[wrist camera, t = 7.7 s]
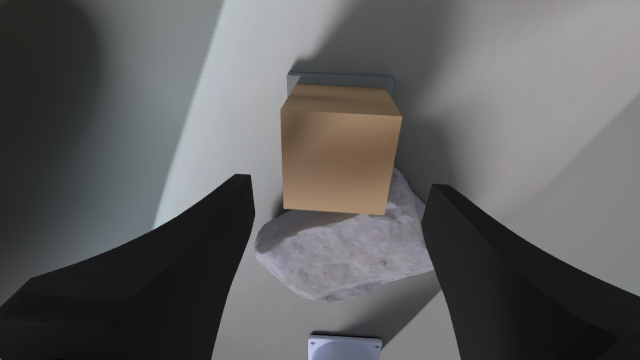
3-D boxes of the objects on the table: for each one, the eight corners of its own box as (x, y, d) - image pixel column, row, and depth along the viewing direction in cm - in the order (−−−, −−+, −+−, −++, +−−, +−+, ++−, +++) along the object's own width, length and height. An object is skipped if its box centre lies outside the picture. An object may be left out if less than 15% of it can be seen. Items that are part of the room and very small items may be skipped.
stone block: (439, 218, 24) (390, 146, 18) (462, 274, 21) (412, 211, 14) (321, 261, 29) (248, 218, 22) (324, 312, 25) (240, 279, 19)
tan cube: (374, 168, 19) (384, 215, 14) (296, 163, 19) (283, 208, 14) (385, 88, 16) (402, 116, 12) (296, 83, 16) (280, 109, 12)
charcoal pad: (378, 166, 20) (379, 172, 19) (291, 162, 20) (289, 168, 19) (393, 76, 17) (395, 80, 16) (288, 72, 17) (287, 75, 16)
